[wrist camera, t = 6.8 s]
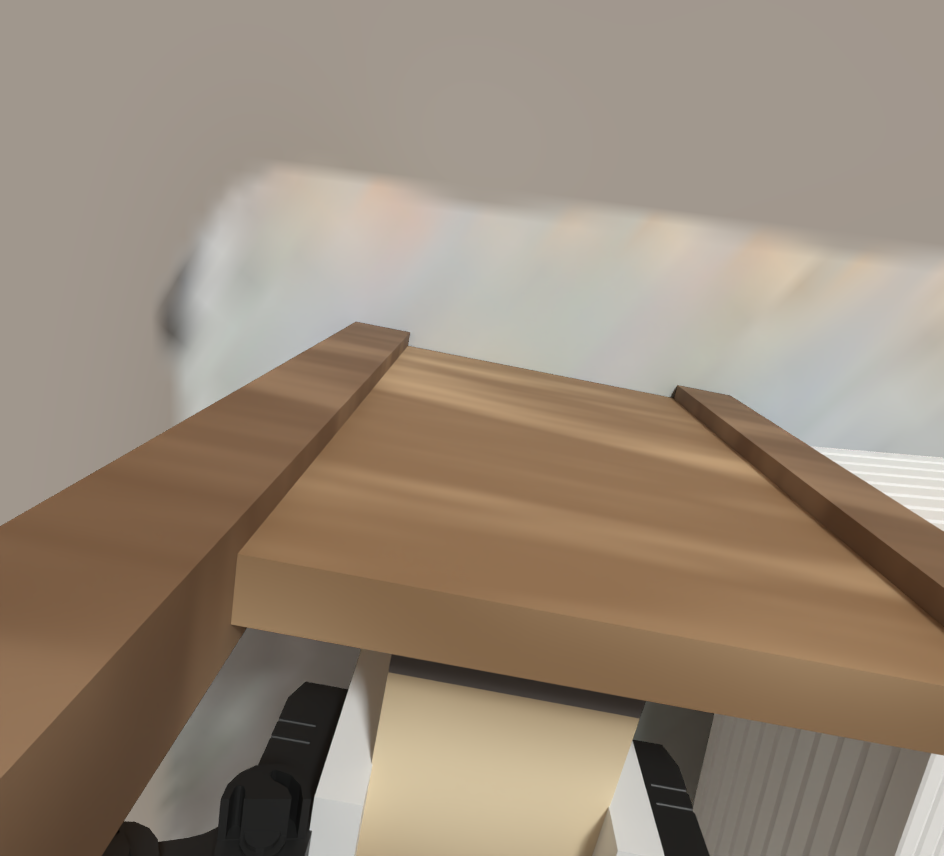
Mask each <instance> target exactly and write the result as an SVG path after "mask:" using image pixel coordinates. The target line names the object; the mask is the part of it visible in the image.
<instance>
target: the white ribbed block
mask: <svg viewBox="0 0 944 856" xmlns="http://www.w3.org/2000/svg"><path fill="white" fill-rule="evenodd" d="M810 447H812V448H813V449H815V450H817V451H818V452H820V453H821V454H823V455H824V456H826V457H828V458H829V459H831V460H832V461H834V462H835V463H837V464H839V465H840V466H842V467H843V468H845V469H846V470H848V471H850V472H851V473H853V474H854V475H856V476H857V477H859V478H861V479H862V480H864V481H865V482H867V483H868V484H870V485H872V486H873V487H875V488H876V489H878V490H879V491H881V492H883V493H884V494H886V495H887V496H889V497H890V498H892V499H894V500H895V501H897V502H898V503H900V504H901V505H903V506H905V507H906V508H908V509H909V510H911V511H912V512H914V513H916V514H917V515H919V516H920V517H922V518H923V519H925V520H927V521H928V522H930V523H931V524H933V525H934V526H936V527H938V528H939V529H941V530H942V531H944V458H941V457H929V456H917V455H906V454H894V453H882V452H871V451H859V450H847V449H836V448H824V447H813V446H810ZM693 812H694V813H695V815H696V818H697V821H698V823H699V826H700V829H701V832H702V835H703V838H704V840H705V843H706V846H707V849H708V852H709V855H710V856H944V756H943V755H938V754H932V753H927V752H921V751H916V750H911V749H905V748H900V747H894V746H889V745H883V744H878V743H872V742H867V741H862V740H856V739H851V738H845V737H840V736H834V735H829V734H824V733H818V732H813V731H807V730H802V729H796V728H791V727H786V726H780V725H775V724H769V723H764V722H758V721H753V720H747V719H742V718H737V717H731V716H726V715H720V714H715V713H714V718H713V722H712V726H711V731H710V735H709V739H708V744H707V748H706V752H705V757H704V761H703V765H702V770H701V774H700V778H699V783H698V787H697V791H696V796H695V800H694V804H693Z"/></svg>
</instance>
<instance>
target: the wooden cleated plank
mask: <svg viewBox="0 0 944 856" xmlns="http://www.w3.org/2000/svg"><path fill="white" fill-rule="evenodd" d="M409 336H410V332H405V331H400V330H395V329H390V328H385V327H380V326H375V325H370V324H365V323H360V322H355V323H353V324H351V325H349V326H348V327H346V328H344V329H342V330H341V331H339V332H337V333H336V334H334V335H332V336H330V337H329V338H327V339H325V340H323V341H322V342H320V343H318V344H316V345H315V346H313V347H311V348H309V349H308V350H306V351H304V352H302V353H301V354H299V355H297V356H295V357H294V358H292V359H290V360H289V361H287V362H285V363H283V364H282V365H280V366H278V367H276V368H275V369H273V370H271V371H269V372H268V373H266V374H264V375H262V376H261V377H259V378H257V379H255V380H254V381H252V382H250V383H249V384H247V385H245V386H243V387H242V388H240V389H238V390H236V391H235V392H233V393H231V394H229V395H228V396H226V397H224V398H222V399H221V400H219V401H217V402H215V403H214V404H212V405H210V406H209V407H207V408H205V409H203V410H202V411H200V412H198V413H196V414H195V415H193V416H191V417H189V418H188V419H186V420H184V421H182V422H181V423H179V424H177V425H175V426H174V427H172V428H170V429H168V430H167V431H165V432H163V433H162V434H160V435H158V436H156V437H155V438H153V439H151V440H149V441H148V442H146V443H144V444H143V445H141V446H139V447H137V448H136V449H134V450H132V451H130V452H129V453H127V454H125V455H123V456H122V457H120V458H118V459H116V460H115V461H113V462H111V463H110V464H108V465H106V466H104V467H102V468H101V469H99V470H97V471H95V472H94V473H92V474H90V475H88V476H87V477H85V478H83V479H82V480H80V481H78V482H76V483H75V484H73V485H71V486H70V487H68V488H66V489H64V490H62V491H61V492H59V493H57V494H56V495H54V496H52V497H50V498H49V499H47V500H45V501H43V502H41V503H40V504H38V505H36V506H35V507H33V508H31V509H29V510H28V511H26V512H24V513H22V514H21V515H19V516H17V517H15V518H14V519H12V520H10V521H9V522H7V523H5V524H3V525H2V526H0V856H102V854H103V853H104V851H105V850H106V848H107V847H108V845H109V843H110V842H111V840H112V839H113V837H114V836H115V834H116V832H117V831H118V829H119V828H120V826H121V825H122V823H123V822H124V820H125V818H126V817H127V815H128V814H129V812H130V811H131V809H132V807H133V806H134V804H135V803H136V801H137V799H138V798H139V796H140V795H141V793H142V792H143V790H144V788H145V787H146V785H147V784H148V782H149V781H150V779H151V778H152V776H153V774H154V773H155V771H156V770H157V768H158V767H159V765H160V763H161V762H162V760H163V759H164V757H165V756H166V754H167V752H168V751H169V749H170V748H171V746H172V745H173V743H174V741H175V740H176V738H177V737H178V735H179V734H180V732H181V730H182V729H183V727H184V726H185V724H186V723H187V721H188V719H189V718H190V716H191V715H192V713H193V712H194V710H195V708H196V707H197V705H198V704H199V702H200V701H201V699H202V698H203V696H204V694H205V693H206V691H207V690H208V688H209V687H210V685H211V683H212V682H213V680H214V679H215V677H216V676H217V674H218V672H219V671H220V669H221V668H222V666H223V665H224V663H225V661H226V660H227V658H228V657H229V655H230V654H231V652H232V650H233V649H234V647H235V646H236V644H237V643H238V641H239V639H240V638H241V636H242V635H243V633H244V632H245V630H246V628H253V629H258V630H264V631H269V632H275V633H280V634H286V635H291V636H296V637H302V638H307V639H313V640H318V641H324V642H329V643H334V644H340V645H345V646H351V647H356V648H362V649H367V650H372V651H378V652H383V653H389V654H394V655H400V656H405V657H411V658H416V659H421V660H427V661H432V662H438V663H443V664H449V665H454V666H459V667H465V668H470V669H476V670H481V671H487V672H492V673H497V674H503V675H508V676H514V677H519V678H525V679H530V680H536V681H541V682H546V683H552V684H557V685H563V686H568V687H574V688H579V689H584V690H590V691H595V692H601V693H606V694H612V695H617V696H622V697H628V698H633V699H639V700H644V701H650V702H655V703H661V704H666V705H671V706H677V707H682V708H688V709H693V710H699V711H704V712H709V713H715V714H720V715H726V716H731V717H737V718H742V719H747V720H753V721H758V722H764V723H769V724H775V725H780V726H786V727H791V728H796V729H802V730H807V731H813V732H818V733H824V734H829V735H834V736H840V737H845V738H851V739H856V740H862V741H867V742H872V743H878V744H883V745H889V746H894V747H900V748H905V749H911V750H916V751H921V752H927V753H932V754H938V755H943V756H944V531H942V530H941V529H939V528H938V527H936V526H934V525H933V524H931V523H930V522H928V521H927V520H925V519H923V518H922V517H920V516H919V515H917V514H916V513H914V512H912V511H911V510H909V509H908V508H906V507H905V506H903V505H901V504H900V503H898V502H897V501H895V500H894V499H892V498H890V497H889V496H887V495H886V494H884V493H883V492H881V491H879V490H878V489H876V488H875V487H873V486H872V485H870V484H868V483H867V482H865V481H864V480H862V479H861V478H859V477H857V476H856V475H854V474H853V473H851V472H850V471H848V470H846V469H845V468H843V467H842V466H840V465H839V464H837V463H835V462H834V461H832V460H831V459H829V458H828V457H826V456H824V455H823V454H821V453H820V452H818V451H817V450H815V449H813V448H812V447H810V446H809V445H807V444H806V443H804V442H802V441H801V440H799V439H798V438H796V437H795V436H793V435H791V434H790V433H788V432H787V431H785V430H784V429H782V428H780V427H779V426H777V425H776V424H774V423H773V422H771V421H769V420H768V419H766V418H765V417H763V416H762V415H760V414H758V413H757V412H755V411H754V410H752V409H751V408H749V407H747V406H746V405H744V404H743V403H741V402H740V401H738V400H736V399H735V398H733V397H732V396H729V395H724V394H719V393H714V392H709V391H704V390H699V389H694V388H689V387H684V386H679V385H678V386H677V389H676V393H675V396H674V398H670V397H665V396H660V395H655V394H650V393H645V392H639V391H634V390H629V389H624V388H619V387H614V386H609V385H604V384H599V383H594V382H589V381H584V380H578V379H573V378H568V377H563V376H558V375H553V374H548V373H543V372H538V371H533V370H528V369H523V368H518V367H512V366H507V365H502V364H497V363H492V362H487V361H482V360H477V359H472V358H467V357H462V356H457V355H451V354H446V353H441V352H436V351H431V350H426V349H421V348H416V347H411V346H408V342H409Z"/></svg>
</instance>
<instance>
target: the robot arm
mask: <svg viewBox="0 0 944 856" xmlns="http://www.w3.org/2000/svg"><path fill="white" fill-rule="evenodd" d="M390 660H391V654H389V653H383V652H378V651H372V650H367V649H361V652H360V655H359V658H358V661H357V664H356V668H355V671H354V674H353V677H352V680H351V683H350V687H349V690H348V689H342V688H337V687H331V686H326V685H320V684H315V683H309V682H305V683H304V684H303V685H302V686H301V687H299V688H298V689H297V690H296V691H295V692H294V693H293V694H292V695H290V696H289V697H288V699H287V701H286V704H285V706H284V708H283V710H282V713H281V715H280V717H279V721H278V722H277V724H276V726H275V729H274V731H273V733H272V736H271V738H270V740H269V742H268V744H267V747H266V749H265V751H264V753H263V756H262V758H261V760H260V762H259V765H256V766H254V767H252V768H250V769H247V770H245V771H243V772H241V773H239V774H238V775H237V776H236V777H235V778H234V779H233V780H232V781H231V782H230V783H229V784H228V785H227V787H226V789H225V791H224V794H223V796H222V798H221V803H220V814H219V824H218V827H217V828H216V829H213V830H211V831H209V832H207V833H204V834H202V835H198V836H194V837H190V838H184V839H177V840H170V841H162V842H158V839H157V838H156V837H155V835H154V834H153V833H152V831H151V830H150V829H149V828H148V827H145V826H143V825H141V824H139V823H136V822H123V823H122V825H121V826H120V828H119V829H118V831H117V832H116V834H115V836H114V837H113V839H112V840H111V842H110V843H109V845H108V847H107V848H106V850H105V851H104V853H103V854H102V856H356V853H357V847H358V842H359V836H360V831H361V825H362V820H363V814H364V809H365V803H366V798H367V792H368V787H369V781H370V776H371V770H372V765H373V764H371V763H372V758H373V753H374V747H375V742H376V736H377V731H378V725H379V720H380V714H381V709H382V703H383V698H384V693H385V687H386V682H387V676H388V671H389V665H390ZM592 856H710V855H709V852H708V849H707V846H706V843H705V840H704V838H703V835H702V832H701V829H700V826H699V823H698V821H697V818H696V815H695V813H694V812H693V806H692V803H691V801H690V798H689V795H688V794H687V793H686V786H685V784H684V781H683V778H682V775H681V772H680V769H679V767H678V765H677V764H676V763H675V761H674V760H673V759H672V757H671V756H670V755H669V753H668V752H667V751H666V750H665V748H664V747H663V746H662V745H659V744H654V743H648V742H643V741H638V740H632V743H631V746H630V749H629V752H628V754H627V757H626V760H625V763H624V766H623V769H622V772H621V775H620V778H619V781H618V784H617V787H616V790H615V793H614V795H613V798H612V801H611V804H610V806H609V807H608V810H607V813H606V816H605V819H604V822H603V825H602V828H601V831H600V834H599V837H598V840H597V843H596V846H595V848H594V851H593V854H592Z"/></svg>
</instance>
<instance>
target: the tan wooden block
mask: <svg viewBox="0 0 944 856" xmlns="http://www.w3.org/2000/svg"><path fill="white" fill-rule="evenodd" d="M645 702H646V701H644V700H639V699H633V698H628V697H622V696H617V695H612V694H606V693H601V692H595V691H590V690H584V689H579V688H574V687H568V686H563V685H557V684H552V683H546V682H541V681H536V680H530V679H525V678H519V677H514V676H508V675H503V674H497V673H492V672H487V671H481V670H476V669H470V668H465V667H459V666H454V665H449V664H443V663H438V662H432V661H427V660H421V659H416V658H411V657H405V656H400V655H394V654H391V660H390V665H389V671H388V676H387V682H386V687H385V693H384V698H383V703H382V709H381V714H380V720H379V725H378V731H377V736H376V742H375V747H374V753H373V758H372V763H371V764H373V765H372V770H371V776H370V781H369V787H368V792H367V798H366V803H365V809H364V814H363V820H362V825H361V831H360V836H359V842H358V847H357V853H356V856H592V854H593V851H594V848H595V846H596V843H597V840H598V837H599V834H600V831H601V828H602V825H603V822H604V819H605V816H606V813H607V810H608V807H609V806H610V804H611V801H612V798H613V795H614V793H615V790H616V787H617V784H618V781H619V778H620V775H621V772H622V769H623V766H624V763H625V760H626V757H627V754H628V752H629V749H630V746H631V743H632V740H633V737H634V734H635V731H636V728H637V725H638V722H639V719H640V716H641V713H642V711H643V708H644V705H645Z"/></svg>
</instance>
